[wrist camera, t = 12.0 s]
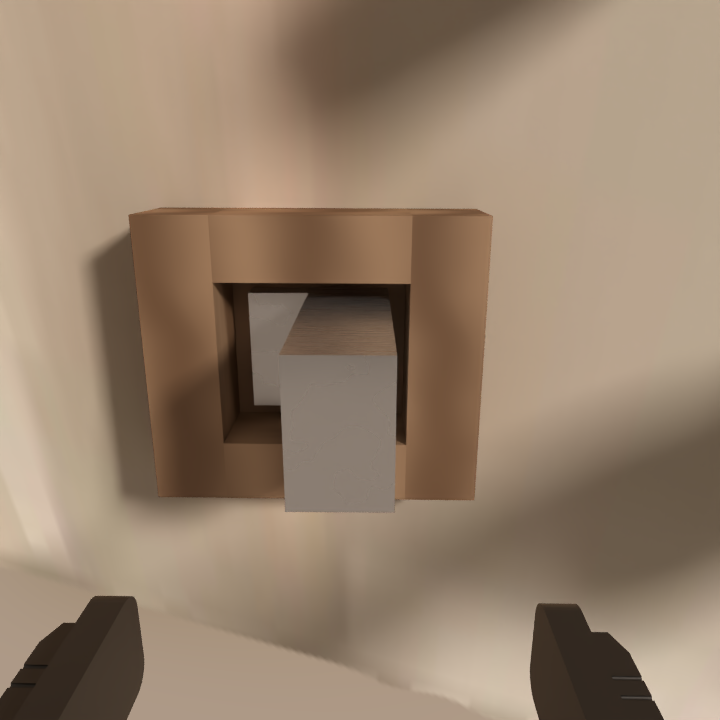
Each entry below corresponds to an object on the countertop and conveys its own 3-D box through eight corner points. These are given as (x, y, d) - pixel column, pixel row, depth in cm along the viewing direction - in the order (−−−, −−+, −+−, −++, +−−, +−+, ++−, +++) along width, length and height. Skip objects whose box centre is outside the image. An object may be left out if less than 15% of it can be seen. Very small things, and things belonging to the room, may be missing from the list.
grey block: (387, 287, 32) (397, 355, 21) (386, 395, 34) (394, 512, 23) (253, 287, 33) (190, 354, 21) (259, 395, 34) (203, 511, 23)
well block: (476, 208, 32) (492, 216, 27) (461, 459, 36) (474, 500, 32) (161, 207, 32) (128, 214, 28) (183, 456, 36) (158, 496, 32)
